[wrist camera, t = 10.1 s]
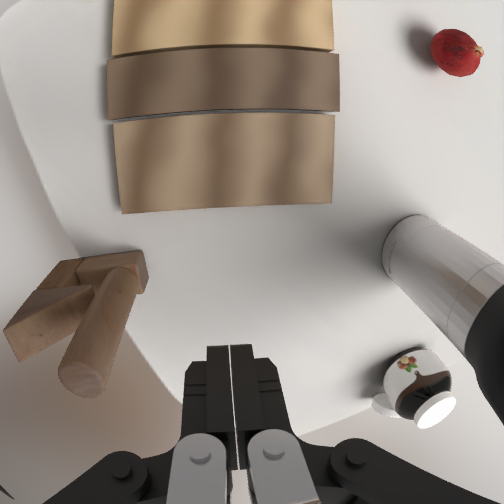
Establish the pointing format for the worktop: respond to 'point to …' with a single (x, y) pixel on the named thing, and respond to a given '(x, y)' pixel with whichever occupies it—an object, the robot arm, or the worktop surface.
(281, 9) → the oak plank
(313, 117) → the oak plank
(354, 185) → the worktop surface
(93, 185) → the worktop surface
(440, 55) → the onion
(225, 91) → the mating board
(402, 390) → the spread jar
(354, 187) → the worktop surface
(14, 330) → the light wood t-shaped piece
